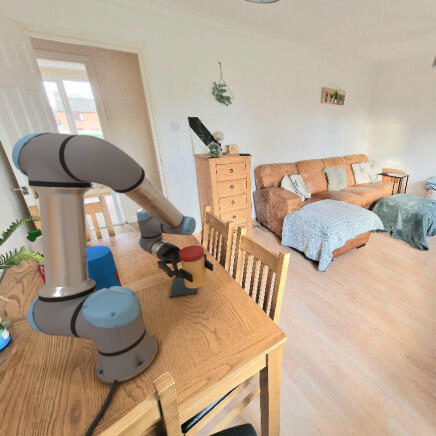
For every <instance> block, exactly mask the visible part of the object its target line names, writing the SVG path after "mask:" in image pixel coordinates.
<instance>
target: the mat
mask: <svg viewBox="0 0 436 436" xmlns="http://www.w3.org/2000/svg"><path fill="white" fill-rule="evenodd" d="M197 290H198V288H188V287H186V286H185V283H184V278H183V279H181V278H180V277H179V278H176V276H174V280H173V283H172V287H171V290H170V291H171V292H170V295H169V298H177V297H183V296H189V295H197Z"/></svg>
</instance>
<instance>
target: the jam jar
mask: <svg viewBox="0 0 436 436" xmlns="http://www.w3.org/2000/svg"><path fill="white" fill-rule="evenodd" d="M180 263H181V268H182V269H183V270H185V271H186V272H188V273H190V274H191V275H192V276H193V282H192V283H191V282H189V281H188V280H186V279H185V278H184V283H185V286H186V287H188V288H197V289H198V288H200V287H203V286H204V285H205V284H206V283H207V281H208V279H207V271H206V269H207V268H205V261H204V256H203V258H201V259H200V260H197V261H194V262H184V261H182V260H181V262H180Z"/></svg>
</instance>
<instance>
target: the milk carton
mask: <svg viewBox="0 0 436 436" xmlns="http://www.w3.org/2000/svg"><path fill="white" fill-rule="evenodd" d="M23 238H24V240H25V241H26V242H27V244H28V245H29V247H30V249H31V252H33V251H34V252H39V255H41V256H42V257H44V256H43V244H42V231H41V228H34V229H30V230H27V234H25V235H23ZM36 264H38V261H36Z"/></svg>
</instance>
